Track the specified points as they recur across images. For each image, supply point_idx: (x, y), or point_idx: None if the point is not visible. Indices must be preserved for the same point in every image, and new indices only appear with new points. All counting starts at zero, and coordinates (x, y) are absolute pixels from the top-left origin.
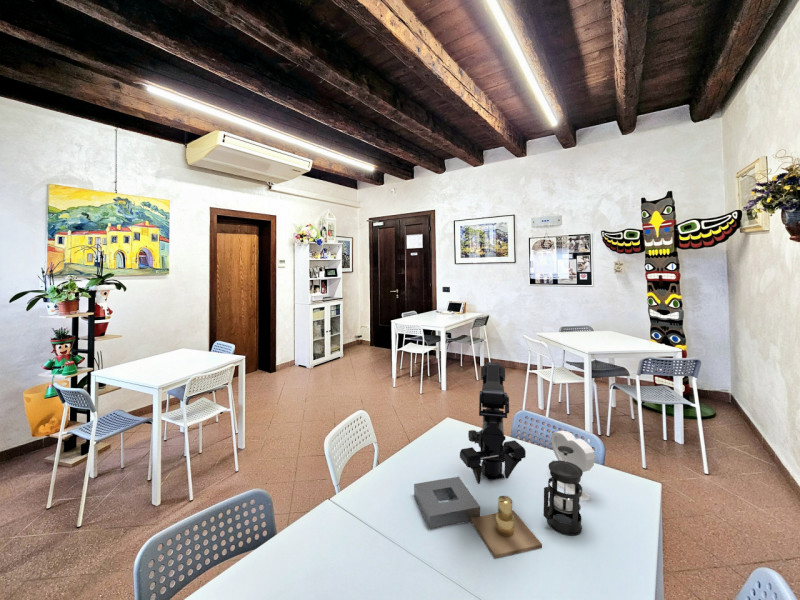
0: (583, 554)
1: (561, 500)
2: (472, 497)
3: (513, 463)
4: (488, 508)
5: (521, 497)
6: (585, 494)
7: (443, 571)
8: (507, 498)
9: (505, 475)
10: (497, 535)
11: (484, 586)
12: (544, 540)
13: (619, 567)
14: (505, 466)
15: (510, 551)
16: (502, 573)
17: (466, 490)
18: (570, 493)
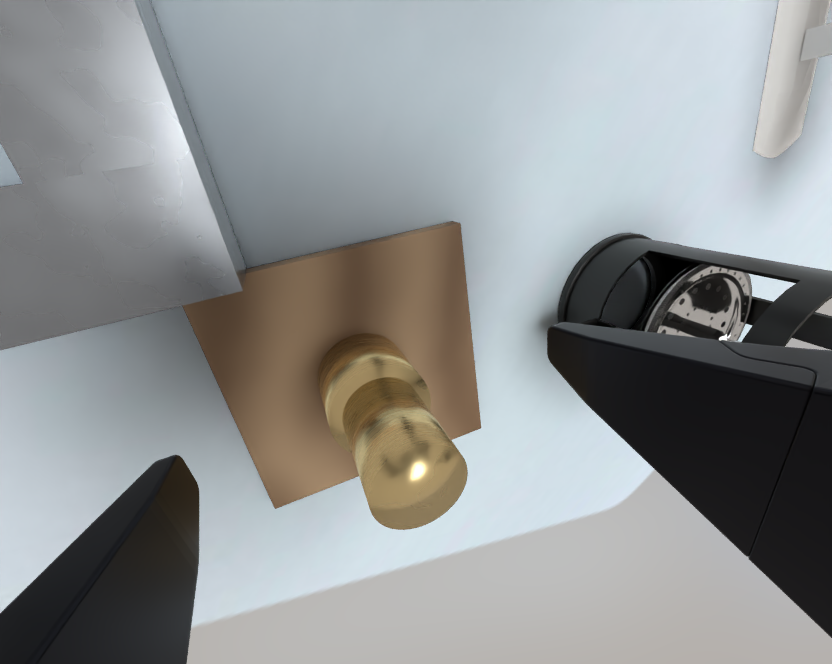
0: (575, 426)
1: (701, 302)
2: (184, 167)
3: (820, 617)
4: (323, 166)
5: (554, 84)
6: (799, 122)
7: (3, 603)
8: (443, 468)
9: (565, 350)
10: (316, 409)
11: (207, 603)
12: (500, 385)
13: (623, 453)
14: (670, 381)
15: (348, 479)
16: (289, 544)
17: (120, 33)
18: (762, 97)
